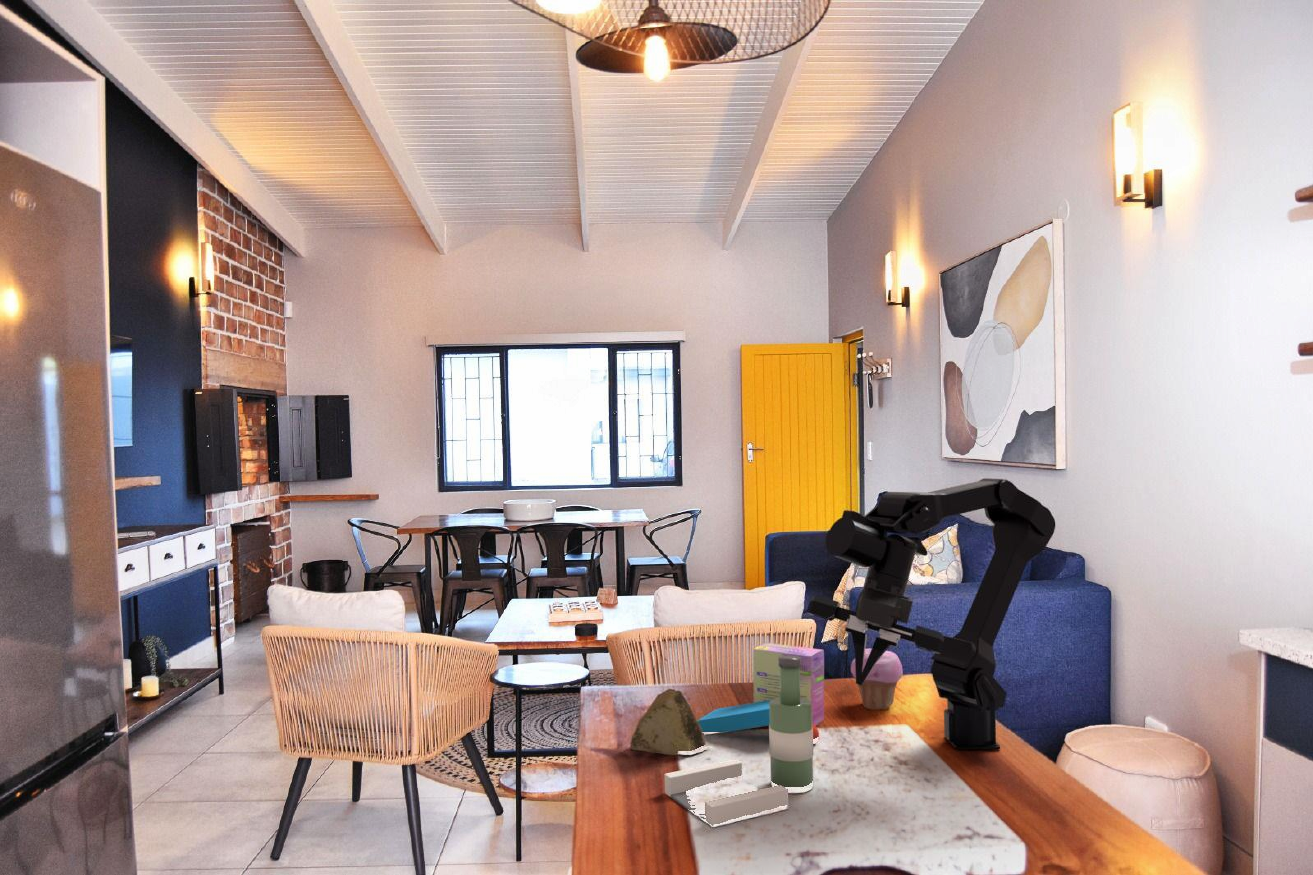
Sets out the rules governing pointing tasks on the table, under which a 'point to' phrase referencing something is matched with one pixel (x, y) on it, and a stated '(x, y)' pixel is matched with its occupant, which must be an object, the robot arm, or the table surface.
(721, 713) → the lever
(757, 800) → the rest
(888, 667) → the cupcake
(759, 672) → the box
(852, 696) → the table surface
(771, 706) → the bottle
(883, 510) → the robot arm
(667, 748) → the rock
